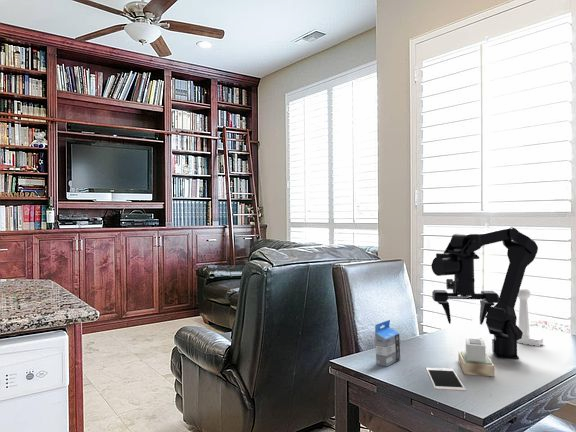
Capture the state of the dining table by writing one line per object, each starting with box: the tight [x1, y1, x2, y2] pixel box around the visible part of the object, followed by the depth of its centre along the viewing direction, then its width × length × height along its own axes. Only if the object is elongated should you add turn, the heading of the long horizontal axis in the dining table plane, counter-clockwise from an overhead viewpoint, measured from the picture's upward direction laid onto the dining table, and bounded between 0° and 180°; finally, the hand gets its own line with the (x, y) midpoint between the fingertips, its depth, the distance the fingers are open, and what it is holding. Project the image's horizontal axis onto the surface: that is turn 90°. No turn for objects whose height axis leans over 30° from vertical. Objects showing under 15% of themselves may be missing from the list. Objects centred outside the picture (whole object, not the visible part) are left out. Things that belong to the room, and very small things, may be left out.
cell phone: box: [425, 367, 467, 391], centre depth 120 cm, size 8×16×1 cm, turn 170°
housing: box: [465, 337, 487, 362], centre depth 128 cm, size 5×8×5 cm, turn 159°
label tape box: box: [374, 319, 401, 367], centre depth 134 cm, size 9×4×12 cm, turn 137°
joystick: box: [517, 286, 544, 347], centre depth 155 cm, size 11×8×20 cm
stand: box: [458, 350, 496, 377], centre depth 128 cm, size 8×12×3 cm, turn 166°
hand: (465, 323), depth 133 cm, fingers open, 9 cm apart
